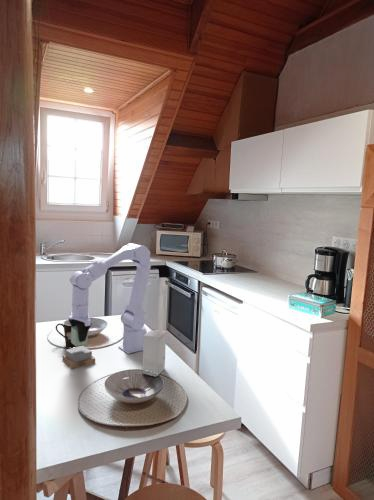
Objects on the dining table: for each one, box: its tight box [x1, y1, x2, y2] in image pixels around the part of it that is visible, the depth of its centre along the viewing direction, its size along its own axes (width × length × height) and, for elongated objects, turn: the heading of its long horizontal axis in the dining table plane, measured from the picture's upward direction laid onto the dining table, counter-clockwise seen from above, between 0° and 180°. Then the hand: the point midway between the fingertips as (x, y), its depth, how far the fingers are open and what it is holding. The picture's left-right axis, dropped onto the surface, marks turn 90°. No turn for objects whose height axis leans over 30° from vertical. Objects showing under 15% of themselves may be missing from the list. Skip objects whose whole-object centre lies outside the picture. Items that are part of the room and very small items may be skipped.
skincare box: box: [141, 328, 167, 375], centre depth 133 cm, size 8×6×15 cm
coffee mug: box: [55, 319, 81, 349], centre depth 154 cm, size 12×9×10 cm
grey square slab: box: [64, 345, 93, 362], centre depth 138 cm, size 7×7×2 cm
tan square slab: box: [62, 354, 96, 370], centre depth 139 cm, size 9×9×2 cm
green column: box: [71, 326, 89, 346], centre depth 137 cm, size 4×4×6 cm
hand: (79, 338), depth 138 cm, fingers closed on green column, 4 cm apart
